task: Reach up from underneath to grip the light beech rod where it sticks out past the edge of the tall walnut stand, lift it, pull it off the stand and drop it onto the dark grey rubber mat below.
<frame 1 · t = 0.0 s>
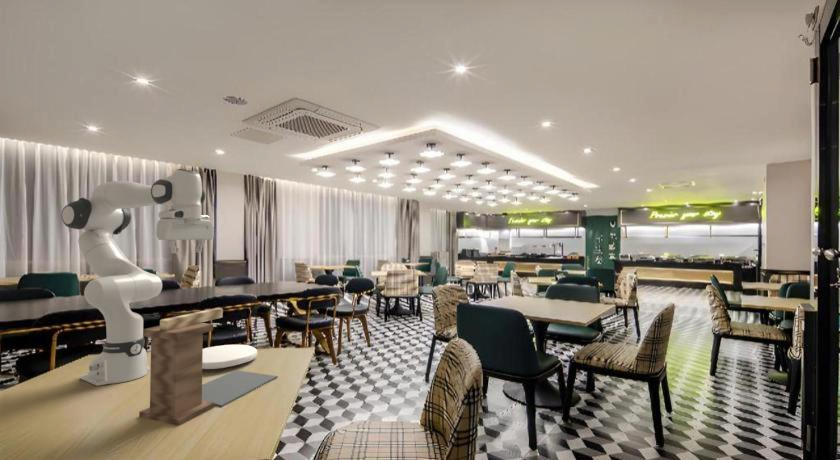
hand: (186, 252, 135), 48 cm above the table, tool pointing down, fingers open, 8 cm apart
plate: (222, 363, 160), on the table
rod: (193, 323, 120), point 26 cm above the table, touching stand
mat: (229, 387, 134), on the table
stand: (177, 411, 115), on the table
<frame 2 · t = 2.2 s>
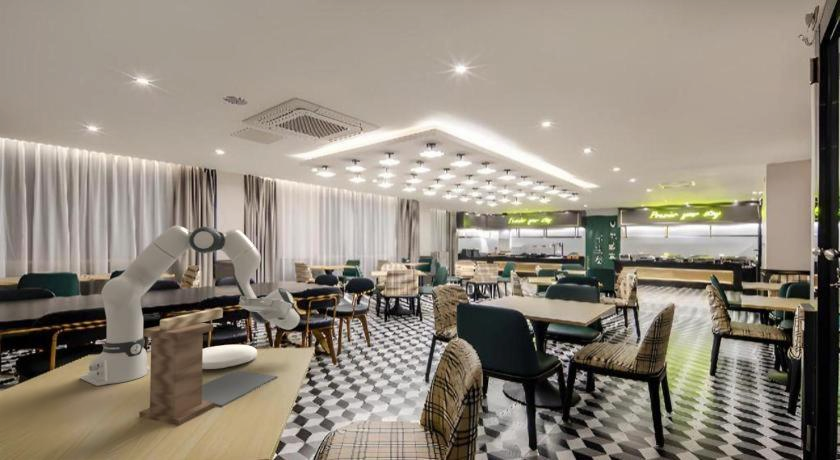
hand: (251, 298, 144), 30 cm above the table, tool pointing upward, fingers open, 8 cm apart
nothing on the table moved.
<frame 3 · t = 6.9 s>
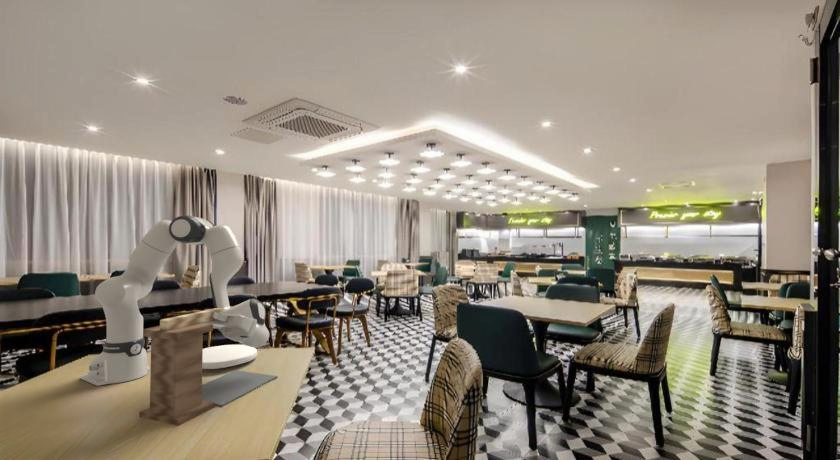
hand: (207, 313, 125), 28 cm above the table, tool pointing upward, fingers closed on rod, 3 cm apart
rod: (193, 323, 120), point 26 cm above the table, touching gripper, stand
everything else where it was.
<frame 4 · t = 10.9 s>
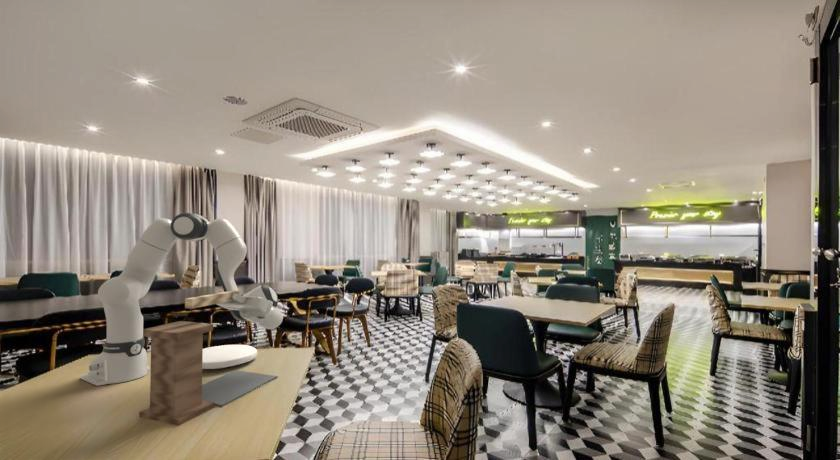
hand: (227, 295, 133), 33 cm above the table, tool pointing upward, fingers closed on rod, 3 cm apart
rod: (214, 303, 128), point 31 cm above the table, touching gripper
everything else where it was.
when the fingers open (19 cm above the table, at t = 15.4 s): rod drops 16 cm, resting on mat.
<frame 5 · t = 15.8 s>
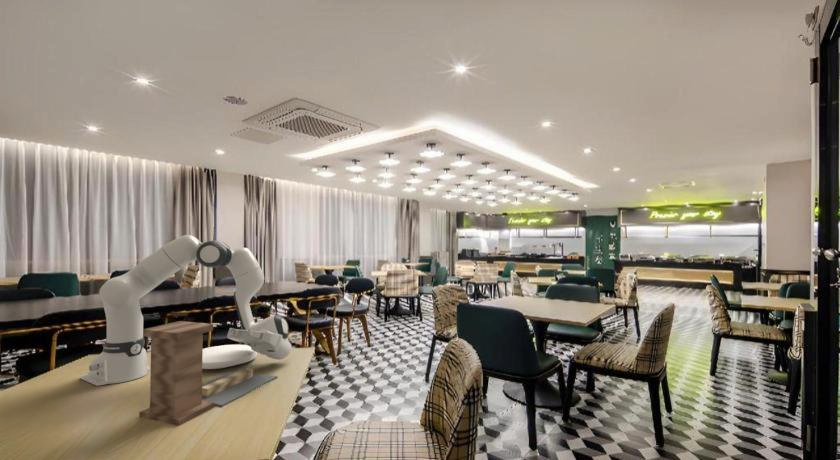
hand: (239, 331, 138), 19 cm above the table, tool pointing upward, fingers open, 7 cm apart
rod: (228, 386, 133), point 1 cm above the table, touching mat
everything else where it was.
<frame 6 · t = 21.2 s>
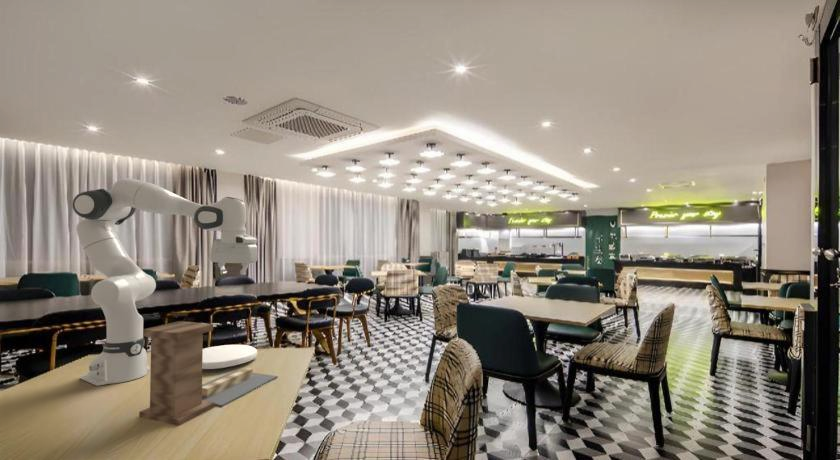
hand: (233, 274, 146), 39 cm above the table, tool pointing down, fingers open, 8 cm apart
nothing on the table moved.
at the end: rod inside the target area (0.5 cm from its centre), point 0.6 cm above the table; rod touching mat; the gripper is holding nothing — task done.
